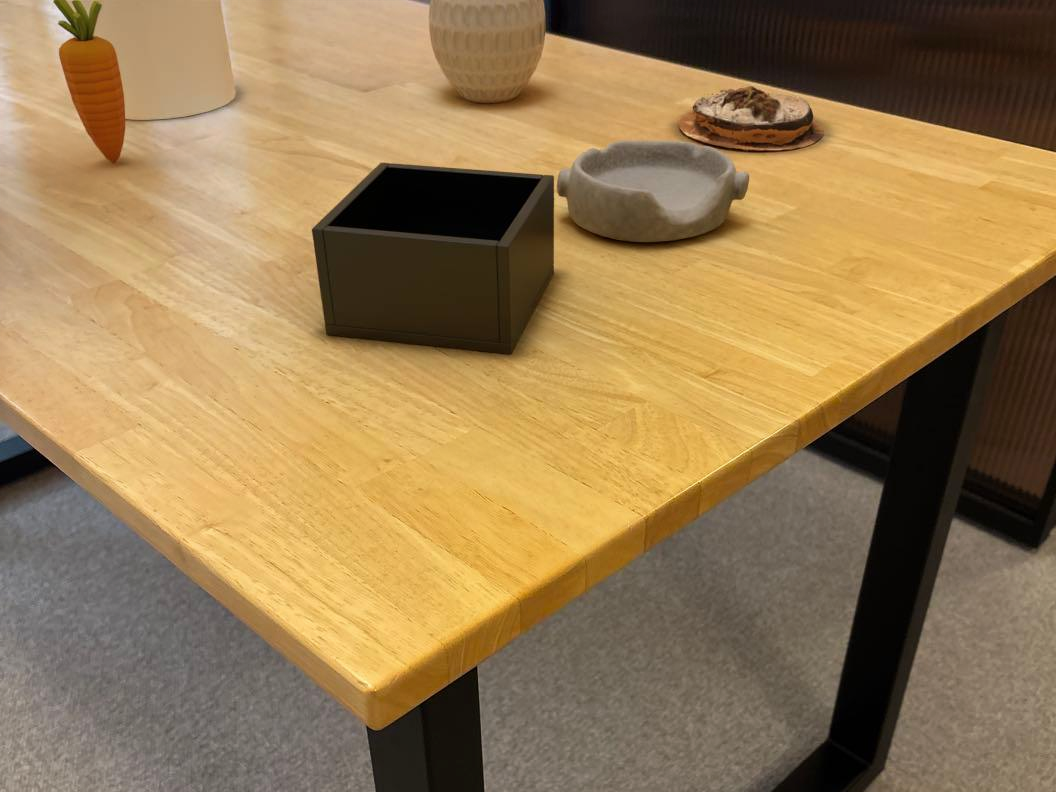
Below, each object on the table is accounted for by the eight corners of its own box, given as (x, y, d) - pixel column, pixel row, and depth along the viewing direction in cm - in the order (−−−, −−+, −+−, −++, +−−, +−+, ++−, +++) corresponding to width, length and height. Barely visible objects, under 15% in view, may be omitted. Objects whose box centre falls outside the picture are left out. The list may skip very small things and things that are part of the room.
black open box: (325, 334, 77) (311, 228, 72) (389, 259, 87) (380, 162, 83) (511, 354, 74) (508, 246, 70) (554, 274, 85) (554, 175, 80)
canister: (206, 72, 132) (171, -118, 120) (258, 103, 122) (225, -102, 109) (73, 94, 125) (21, -106, 113) (115, 129, 115) (63, -88, 102)
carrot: (151, 158, 107) (114, -9, 98) (116, 174, 103) (74, 2, 94) (112, 152, 109) (72, -13, 99) (76, 167, 105) (31, -2, 96)
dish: (761, 218, 94) (768, 160, 91) (656, 264, 86) (659, 203, 83) (636, 177, 102) (638, 123, 99) (530, 216, 94) (529, 159, 91)
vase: (431, 113, 118) (419, -59, 108) (436, 81, 129) (426, -79, 118) (548, 111, 119) (547, -61, 109) (543, 79, 129) (543, -81, 119)
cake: (849, 125, 114) (855, 84, 112) (776, 162, 105) (781, 118, 103) (729, 99, 122) (733, 60, 119) (652, 132, 113) (654, 90, 110)
